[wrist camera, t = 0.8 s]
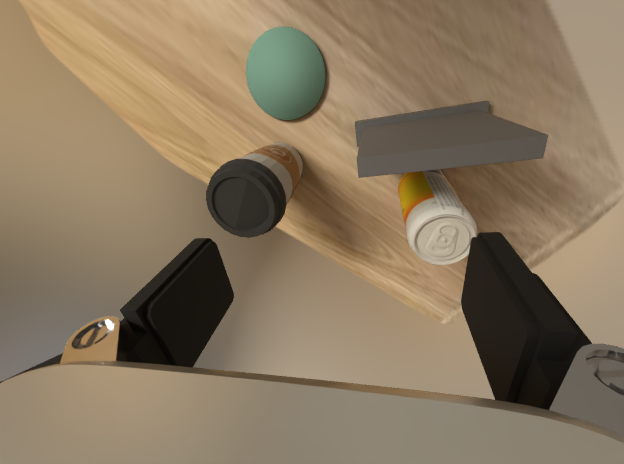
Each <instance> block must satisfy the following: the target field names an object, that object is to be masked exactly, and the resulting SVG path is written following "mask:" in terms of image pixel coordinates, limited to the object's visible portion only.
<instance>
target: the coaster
mask: <svg viewBox="0 0 624 464" xmlns="http://www.w3.org/2000/svg"><path fill="white" fill-rule="evenodd" d="M246 76H247V83H248V86H249V90H250V92H251V95H252V96H253V98H254V100H255V101H256V103H257V104H258V105H259V107H260V108H261V109H262V110H264V111H265V112H266V113H267V114H269V115H271V116H273V117H275V118H278V119H282V120H293V119H297V118H300V117H302V116H304V115H306V114H307V113H309V112H310V111H311V110H312V109H313V108H314V107H315V106H316V104H317V103H318V101H319V100H320V98H321V96H322V93H323V90H324V86H325V76H326V74H325V65H324V61H323V58H322V55H321V53H320V51H319V49H318V47H317V46H316V44H315V43H314V42H313V40H311V39H310V38H309V37H308V36H307V35H306V34H304V33H303V32H301V31H299V30H297V29H294V28H290V27H277V28H273V29H270V30H268V31H267V32H265V33H264V34H262V35H261V36H260V37H259V38H258V39H257V40H256V42H255V43H254V44H253V46H252V48H251V50H250V53H249V56H248V59H247V66H246Z"/></svg>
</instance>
